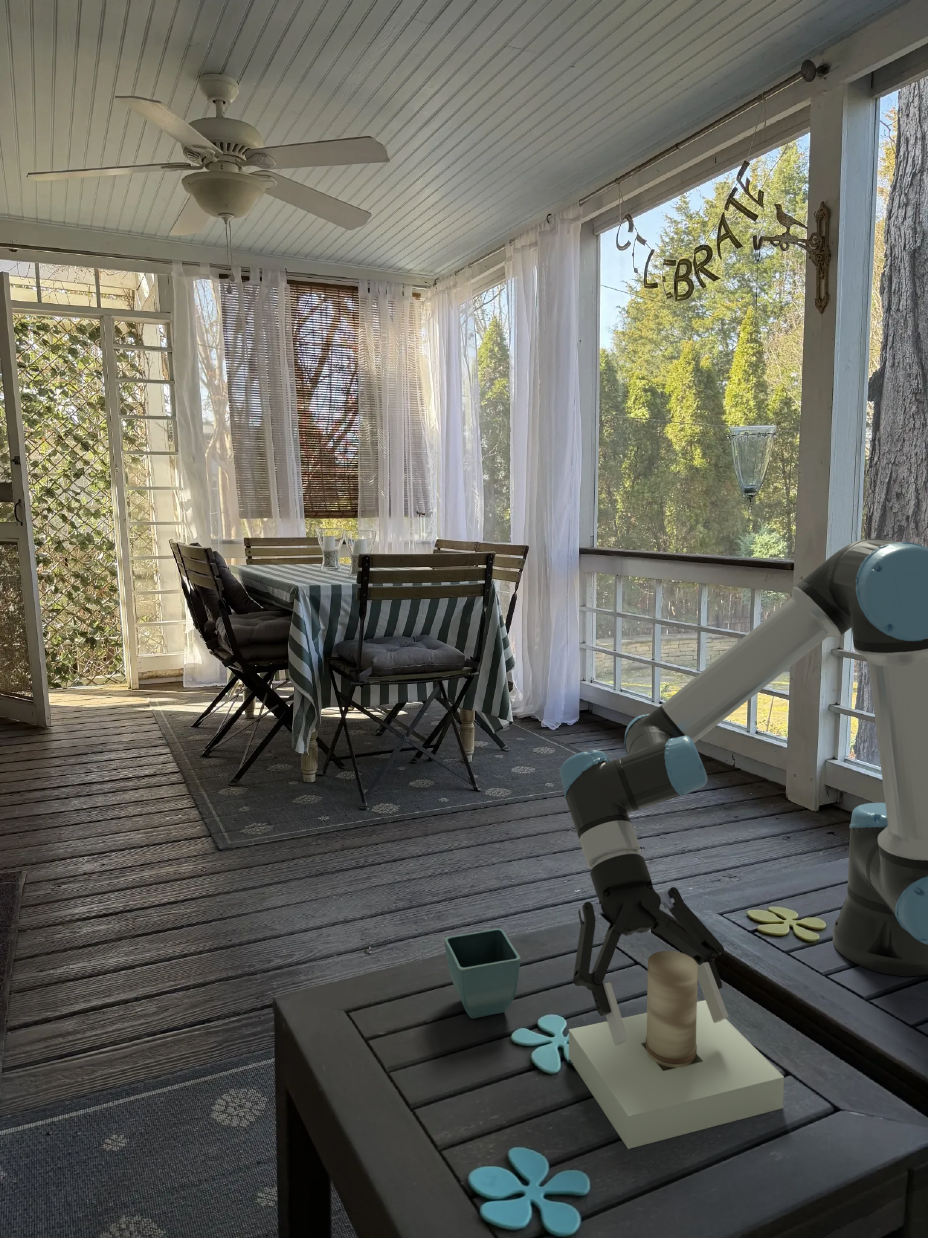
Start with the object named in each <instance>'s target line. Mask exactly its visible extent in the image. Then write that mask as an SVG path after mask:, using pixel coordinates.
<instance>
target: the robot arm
mask: <svg viewBox="0 0 928 1238" xmlns="http://www.w3.org/2000/svg"><path fill="white" fill-rule="evenodd" d="M850 629H851V633H852V634H851V635H852V643H853V644H852V645H853V650H854V651H855V652H857V653H858V654H860V656H862V657H864V658H865V659H866V661H867V664H868V673H869V681H870V688H871V696H872V705H873V706H872V707H873V712H874V713H873V714H874V720H875V730H876V738H877V745H878V747H877V748H878V754H879V755H878V756H879V763H880V771H881V780H882V789H883V796H884V802H868V803H864V804H860V805H858V806H856V807H854V809H853V810H852V813H851V818H850V819H851V820H850V824H849V830H850V831H849V847H848V848H849V850H848V851H849V852H848V868H847V869H848V873H847V892H846V893H847V894H846V898H845V899H844V902H843V904H842V907H841V909H840V911H839V915H838V917H837V919H836V920H835V921H834V924H833V929H832V943H833V945H834V948H835V949H836V950H837V951H838V953H840V954H841V956H843V957H845V959H847V960H849V961H851V963H852V962H853V963H854V964H856V965H858V966H861V967H862V968H865V969H868V970H871V971H873V972H874V971H875V972H877V973H881V974H886V975H892V976H898V977H899V976H900V977H917V976H923V975H927V974H928V547H927V546H924V545H922V544H918V543H915V542H910V541H895V540H889V539H884V538H865V539H860V540H857V541H854V542H851V543H849V544H847V545H845V546H844V547H842V548H841V549H839V550H837V551H836V552H834V554H832V555H831V556H830V557H828V558H827V559H825V561H823V562H822V563H821V564H820V565H819V566H818V567H816V568H815V569H814V570H813V571H812V572H810V573H809V574H808V575H807V576H806V577H805V578H804V579H802V580H801V581H800V582H798V583H797V584H796V585H795V586H793V587H792V594H791V598H790V599H789V600H788V601H787V602H785V603H784V604H783V605H782V606H780V607H779V608H778V609H776V611H774V612H773V613H772V614H771V615H769V616H768V617H767V618H766V619H765V620H763V621H762V622H761V623H760V624H758V625H757V626H756V627H755V628H753V629H752V630H751V631H750V632H749V633H748V634H746V635H745V636H744V637H743V638H741V639H740V640H739V641H738V642H736V643H735V644H734V645H733V646H732V647H730V648H729V649H728V650H727V651H725V652H724V653H723V654H722V655H721V656H719V658H717V659H716V660H715V661H714V662H712V663H711V664H710V665H708V667H706V668H705V669H704V670H702V671H701V672H700V673H698V674H697V675H696V676H695V677H693V679H692V680H690V681H689V682H688V683H687V684H685V685H684V686H683V687H682V688H681V689H679V690H678V691H677V692H676V693H674V694H673V695H672V696H671V697H670V698H668V699H667V700H666V701H665V702H663V703H662V704H661V705H659V706H658V707H657V708H656V709H654V710H653V711H652V712H651V713H647V714H641V715H637V716H636V717H635V718H633V719H632V720H631V721H630V722H629V723H628V724H627V727H626V729H625V733H624V748H625V752H626V754H627V755H625V756H623V757H621V758H620V757H619V758H616V759H612V760H611V759H610V758H609V757H608V754H606V753H605V752H604V751H601V750H598V749H596V750H595V749H593V750H589V751H581V752H579V753H576V754H573V755H572V756H570V757H568V758H567V759H566V760H564V761H563V763H562V764H561V766H560V768H559V775H560V781H561V784H562V787H563V791H564V793H563V794H564V798H565V800H566V803H567V807H568V810H569V812H570V815H571V818H572V822H573V824H574V828H575V831H576V833H577V836H578V840H579V843H580V846H581V847H580V848H581V849H582V850H581V851H582V852H583V855H584V856H583V857H584V859H585V863H586V865H587V867H588V868H589V869H591V870H590V872H589V876H590V878H591V881H592V885H593V888H594V891H595V894H596V896H597V898H598V904H597V903H595V904H592V902H590V901H585V903H583V905H582V906H580V908H579V909H578V912H577V913H578V917H579V922H580V923H579V924H580V931H579V935H578V943H577V950H576V957H575V963H574V970H573V978H572V982H573V984H574V986H576V987H580V986H582V987H585V988H586V989H587V991H591V994H592V998H593V1000H594V1004H595V1008H596V1011H597V1013H598V1014H599V1016H600V1017H603V1016H605V1018H606V1021H608V1025H609V1028H610V1031H611V1035H612V1038H613V1042H614V1045H615V1046H616V1045H620V1044H622V1043H624V1042H625V1041H627V1040H628V1037H627V1034H626V1031H625V1027H624V1024H623V1021H622V1018H623V1017H622V1014H621V1011H620V1008H619V1006H618V1002H617V998H616V994H615V992H614V989H613V985H612V982H611V981H610V982H609V981H608V982H605V983H604V980H605V977H606V975H607V971H608V969H609V967H610V964H611V962H612V959H613V956H614V955H615V951H616V949H617V945H618V943H619V940H620V938H621V936H622V935H624V936H625V937H628V936H632V935H634V934H635V933H639V934H643V933H648V931H652V932H653V933H654V934H659V935H660V936H662V937H663V938H664V939H666V940H667V941H668V942H669V943H670V944H672V945H673V946H674V947H675V948H676V949H678V950H679V951H681V953H683V954H686V955H688V956H690V957H691V958H693V959H694V960H695V961H696V963H697V965H698V977H697V982H698V983H699V986H700V988H701V990H702V994H703V998H704V1000H706V1003H707V1005H708V1008H709V1011H710V1014H711V1016H712V1019H713V1022H714V1023H716V1022H720V1021H722V1020H723V1019H727V1018H729V1013H728V1011H727V1008H726V1006H725V1003H724V999H723V997H722V995H721V992H720V990H721V989H723V982H722V979H721V977H720V975H719V972H718V969H717V966H716V964H715V963H716V962H715V959H716V958H718V957H719V956H721V954H724V952H725V948H724V946H723V944H722V943H721V942H720V941H719V940H718V939H717V938H716V937H715V935H714V934H713V933H712V932H711V931H710V930H709V928H708V927H707V926H705V924H704V923H703V922H702V921H701V920H700V918H698V916H697V915H696V914H695V913H694V912H693V911H692V910H691V908H689V906H688V905H687V904H686V903H685V901H684V900H683V898H682V896H681V893H680V891H679V889H678V888H677V887H676V886H675V887H674V886H672V887H670V888H669V889H668V890H667V891H664V892H663V891H662V892H660V893H658V892H657V891H656V890H655V888H654V886H653V879H652V878H651V875H650V872H649V869H648V866H647V864H646V861H645V858H644V856H642V855H641V851H642V849H641V846H640V843H639V841H638V837H637V836H636V833H635V830H634V827H633V824H632V822H631V819H630V815H629V814H630V813H632V812H636V811H640V810H641V809H644V808H648V807H651V806H653V805H657V804H659V803H662V802H666V801H668V800H671V799H675V798H677V797H681V796H683V797H685V796H686V795H688V794H690V793H692V792H694V791H696V790H698V789H701V788H703V787H704V786H706V784H707V783H708V775H707V772H706V769H705V766H704V764H703V761H702V759H701V757H700V754H699V752H698V750H697V747H696V744H695V743H696V742H697V741H699V740H700V739H701V738H703V737H704V736H705V735H706V734H708V733H709V732H710V731H711V730H712V729H713V730H714V728H715V727H716V726H717V725H719V724H720V723H722V722H723V721H724V720H725V719H726V718H728V717H729V716H730V715H731V714H733V713H734V712H736V710H738V709H739V708H740V707H742V706H743V705H744V704H745V703H747V702H748V701H749V700H750V699H752V698H753V697H754V696H755V695H757V694H758V693H759V692H760V691H762V690H763V689H764V688H765V687H767V686H768V685H769V684H770V683H772V682H773V681H774V680H776V679H777V678H778V677H779V676H781V675H782V674H784V672H786V671H787V670H789V668H791V667H792V666H793V665H795V664H796V663H797V662H799V661H800V660H801V659H802V658H804V657H805V656H806V655H807V654H808V653H809V652H811V651H812V650H813V649H815V648H816V647H817V646H819V645H820V644H821V643H822V642H824V641H825V640H826V639H827V638H840V637H841V636H843V635H844V634H845V633H847V632H848V631H849V630H850ZM661 905H663V907H664V909H666V910H668V911H669V913H670V914H671V915H672V916H673V918H674V919H675V920H676V921H677V922H678V923H679V925H681V927H682V928H681V927H679V925H677V924H676V923H675V922H673V921H672V920H671V918H670V917H669V916H668V915H667V914H666V913H664V912H663V911H662V910H660V907H661ZM600 916H601V917H602V918H603V919H604V920H605V921H606V922H607V923H608V924H609V926H608V928H607V930H606V933H605V936H604V940H603V942H602V945H601V948H600V950H599V953H598V955H597V958H596V960H595V963H594V965H593V968H592V970H591V972H590V968H591V960H592V952H593V946H594V945H593V944H594V938H595V930H596V922H597V921H598V919H600V918H599V917H600ZM683 929H684V930H685V931H684V930H683Z"/></svg>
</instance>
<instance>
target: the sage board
mask: <svg viewBox="0 0 928 1238" xmlns="http://www.w3.org/2000/svg"><path fill="white" fill-rule="evenodd" d="M621 1018H622V1021H623V1024H624V1027H625V1031H626V1034H627V1037H628V1040H627V1041H625V1042H624V1043H622V1044H620V1045H616V1046H615V1045H614V1042H613V1038H612V1035H611V1031H610V1028H609V1025H608V1021H607V1020H606V1021H602V1022H601V1021H600V1022H598V1023H592V1024H589V1025H587V1024H586V1025H583V1026H578V1027H574V1028H569V1029H568V1059H569V1058H570V1059H569V1061H570V1060H571V1061H572V1062H573V1064H572V1065H573V1067H574V1069H575V1070H576V1072H577V1074H578V1075H579V1076H580V1078H581V1079H582V1081H583V1082H584V1084H585V1086H586V1087H587V1088H588V1090H589V1092H590V1093H591V1095H592V1096H593V1098H594V1099H595V1101H596V1102H597V1104H598V1105H599V1107H600V1108H601V1110H602V1111H603V1113H604V1114H605V1116H606V1117H607V1119H608V1120H609V1122H610V1123H611V1126H612V1127H613V1128H614V1129H615V1131H616V1133H617V1134H618V1136H619V1137H620V1139H621V1140H622V1142H623V1143H624V1145H625V1146H626V1149H627V1150H630V1149H633V1148H636V1147H637V1148H638V1147H641V1146H645V1145H649V1144H652V1143H656V1142H660V1141H664V1140H669V1139H671V1138H676V1137H679V1136H683V1135H686V1134H690V1133H694V1132H698V1131H702V1130H706V1129H709V1128H713V1127H716V1126H721V1125H724V1124H728V1123H733V1122H736V1121H740V1120H744V1119H747V1118H751V1117H754V1116H758V1115H759V1116H760V1115H762V1114H766V1113H771V1112H774V1111H778V1110H782V1109H784V1089H785V1087H784V1086H785V1085H784V1084H785V1076H784V1075H783V1074H782V1073H781V1072H780V1071H779V1070H778V1069H777V1068H776V1067H775V1066H774V1065H773V1064H772V1063H771V1062H770V1061H769V1060H768V1059H767V1058H766V1057H764V1055H763V1054H762V1053H761V1052H760V1051H759V1050H758V1049H756V1047H754V1045H752V1043H751V1042H750V1041H749V1040H748V1039H746V1037H744V1035H743V1034H741V1033H742V1032H741V1033H740V1031H739V1030H738V1029H737V1028H736V1027H734V1025H733V1024H731V1022H730V1021H729V1020H728V1019H727V1018H725V1019H723V1020H722V1021H720V1022H716V1023H714V1022H713V1019H712V1016H711V1014H710V1011H709V1008H708V1005H707V1003H706V1000H705V999H704V1000H699V1001H697V1019H696V1045H697V1053H696V1057H695V1060H694V1061H693V1062H692V1063H691V1064H690V1065H688V1066H685V1067H679V1068H674V1069H670V1070H666V1071H663V1070H662V1069H661V1068H660V1066H659V1065H658V1064H657V1063H656V1062H655V1061H654V1060H652V1059H651V1058H650V1057H649V1055H648V1053H647V1049H646V1037H647V1012H643V1013H639V1014H634V1015H630V1016H626V1017H621ZM571 1061H570V1062H571ZM572 1062H571V1063H572Z"/></svg>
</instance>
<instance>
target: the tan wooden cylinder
mask: <svg viewBox="0 0 928 1238" xmlns="http://www.w3.org/2000/svg"><path fill="white" fill-rule="evenodd" d="M698 966H699V964H697V963H696V961H695V960H694V959H693V958H691V957H690V956H688V955H686V954H685V953H683V952H680V951H676V950H675V951H674V950H661V951H657V952H654V953H653V954H651V955H650V956H649V957H648V959H647V981H646V982H647V983H646V984H647V986H646V987H647V992H646V993H647V995H646V997H647V999H646V1013H647V1037H646V1049H647V1053H648V1055H649V1057H650V1058H651V1059H652V1060H654V1061H655V1062H656V1063H657V1064H658V1065H659V1066H660V1068H661V1069H662V1070H663V1071H666V1070H670V1069H674V1068H679V1067H685V1066H688V1065H690V1064H691V1063H692V1062H693V1061H694V1060H695V1057H696V1053H697V1045H696V1019H697V1002H698V978H697V977H698Z"/></svg>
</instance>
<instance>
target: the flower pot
mask: <svg viewBox="0 0 928 1238" xmlns="http://www.w3.org/2000/svg"><path fill="white" fill-rule="evenodd" d="M444 947H445V954H446V961H447V966H448V967H447V968H448V971H449V972H448V973H449V975H450V979H451V981H452V984H453V986H454V989H455V991H456V992H457V995H458V997H459V999H460V1002H461V1004H462V1006H463V1009H464V1010H465V1012H466V1014H467V1015H468V1016H469V1018H470V1019H478V1018H482V1017H483V1018H484V1017H488V1016H493V1015H497V1014H503V1013H505V1012H506V1011H507V1010H508V1009H509V1007H510V1006H511V1005H512V1002H513V1001H514V999H515V997H516V994H517V991H518V986H519V976H520V967H521V956H520V954H519V953H518V951H517V950H516V948H515V947H514V946H513V944H512V942H511V941H510V939H509V937H508V936H507V934H506V932H505V931H504V930H503V929H502V928H492V929H487V930H482V931H477V932H475V931H474V932H470V933H464V934H459V935H458V934H457V935H451V936H446V937H444Z"/></svg>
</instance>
